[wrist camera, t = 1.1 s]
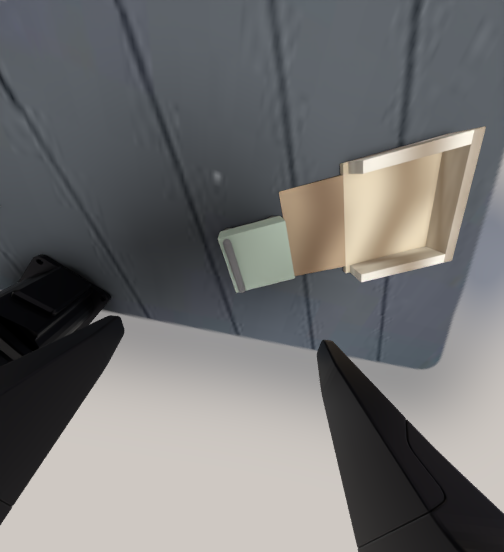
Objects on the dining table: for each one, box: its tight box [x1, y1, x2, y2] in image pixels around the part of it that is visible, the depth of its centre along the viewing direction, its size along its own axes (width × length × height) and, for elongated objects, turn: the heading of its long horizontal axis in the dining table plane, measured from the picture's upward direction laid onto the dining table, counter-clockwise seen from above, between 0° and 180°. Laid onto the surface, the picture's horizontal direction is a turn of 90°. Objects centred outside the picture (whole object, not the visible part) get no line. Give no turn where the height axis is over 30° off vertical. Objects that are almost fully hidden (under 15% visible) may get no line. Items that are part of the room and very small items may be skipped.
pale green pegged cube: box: [218, 216, 295, 293], centre depth 16 cm, size 5×5×4 cm
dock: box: [279, 126, 486, 282], centre depth 16 cm, size 13×10×3 cm
